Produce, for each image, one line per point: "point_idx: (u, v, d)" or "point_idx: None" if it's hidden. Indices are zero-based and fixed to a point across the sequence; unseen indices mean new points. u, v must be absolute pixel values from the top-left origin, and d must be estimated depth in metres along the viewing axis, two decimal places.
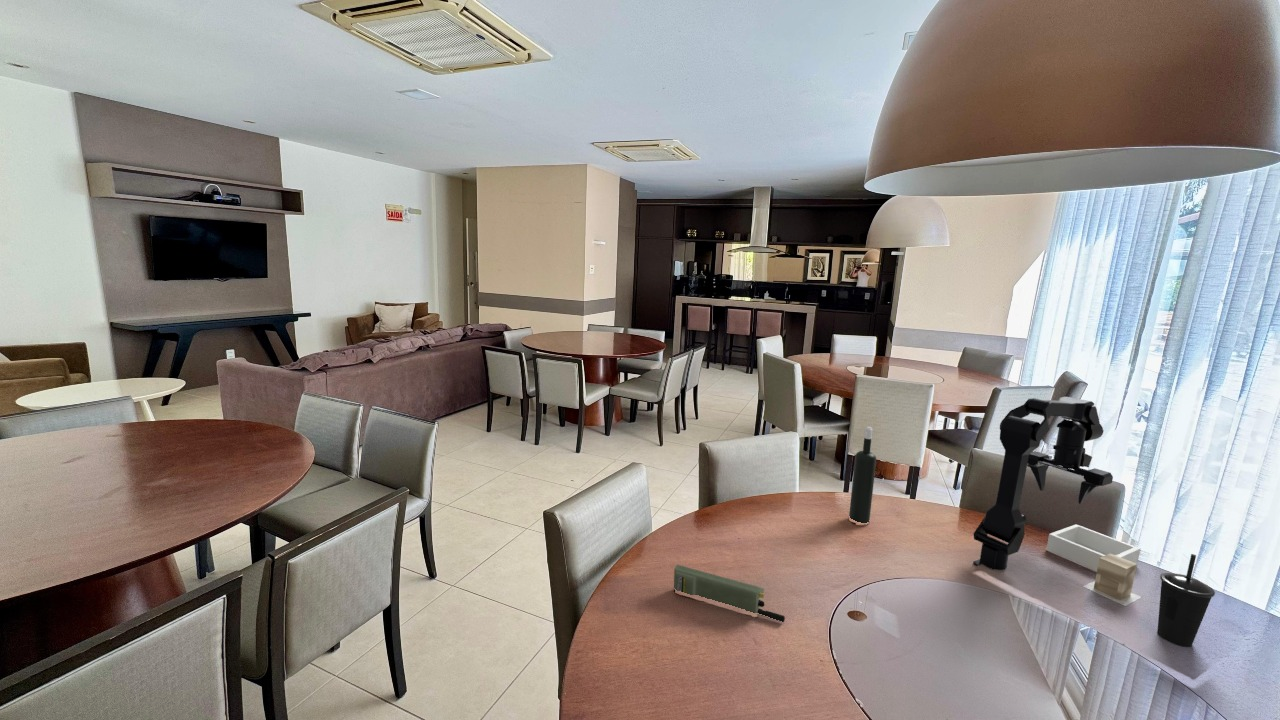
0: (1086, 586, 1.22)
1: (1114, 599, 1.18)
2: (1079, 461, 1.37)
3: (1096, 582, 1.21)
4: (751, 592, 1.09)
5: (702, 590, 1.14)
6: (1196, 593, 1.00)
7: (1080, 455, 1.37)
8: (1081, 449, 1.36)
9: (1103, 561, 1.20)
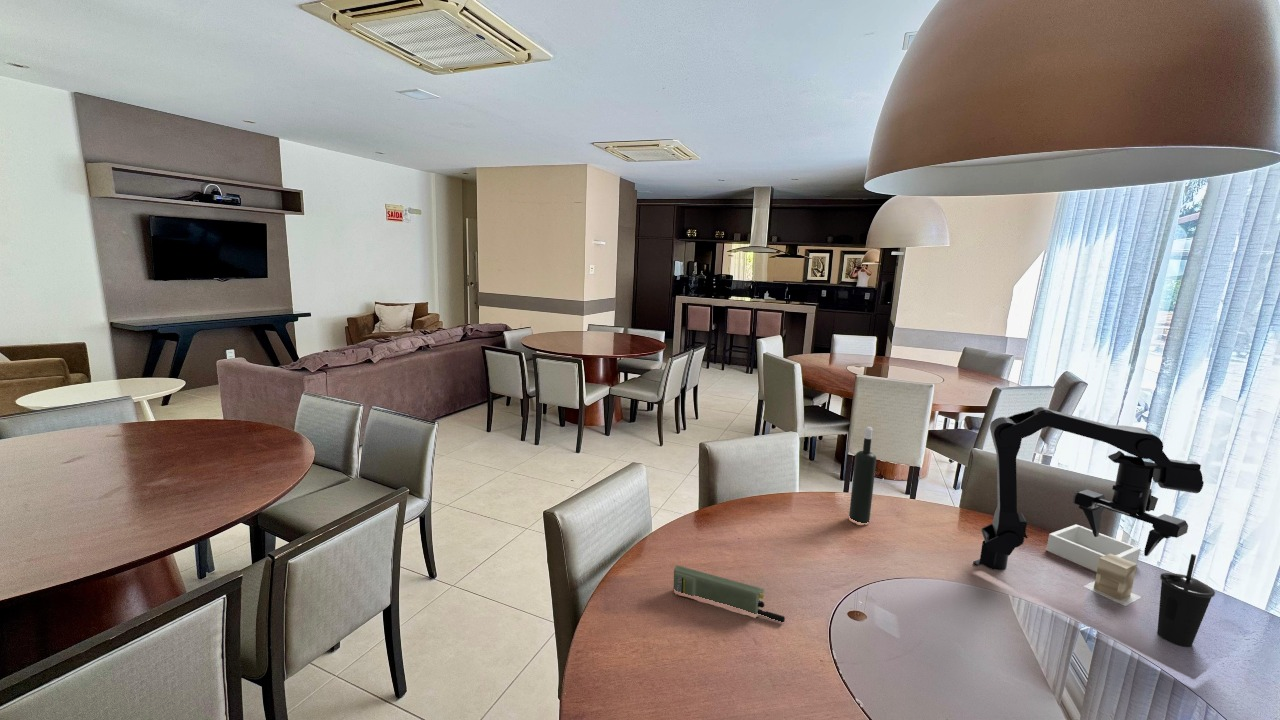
0: (1086, 586, 1.22)
1: (1114, 599, 1.18)
2: (1145, 505, 1.14)
3: (1096, 582, 1.21)
4: (751, 593, 1.09)
5: (702, 591, 1.14)
6: (1196, 593, 1.00)
7: (1146, 498, 1.14)
8: (1148, 491, 1.14)
9: (1103, 561, 1.20)
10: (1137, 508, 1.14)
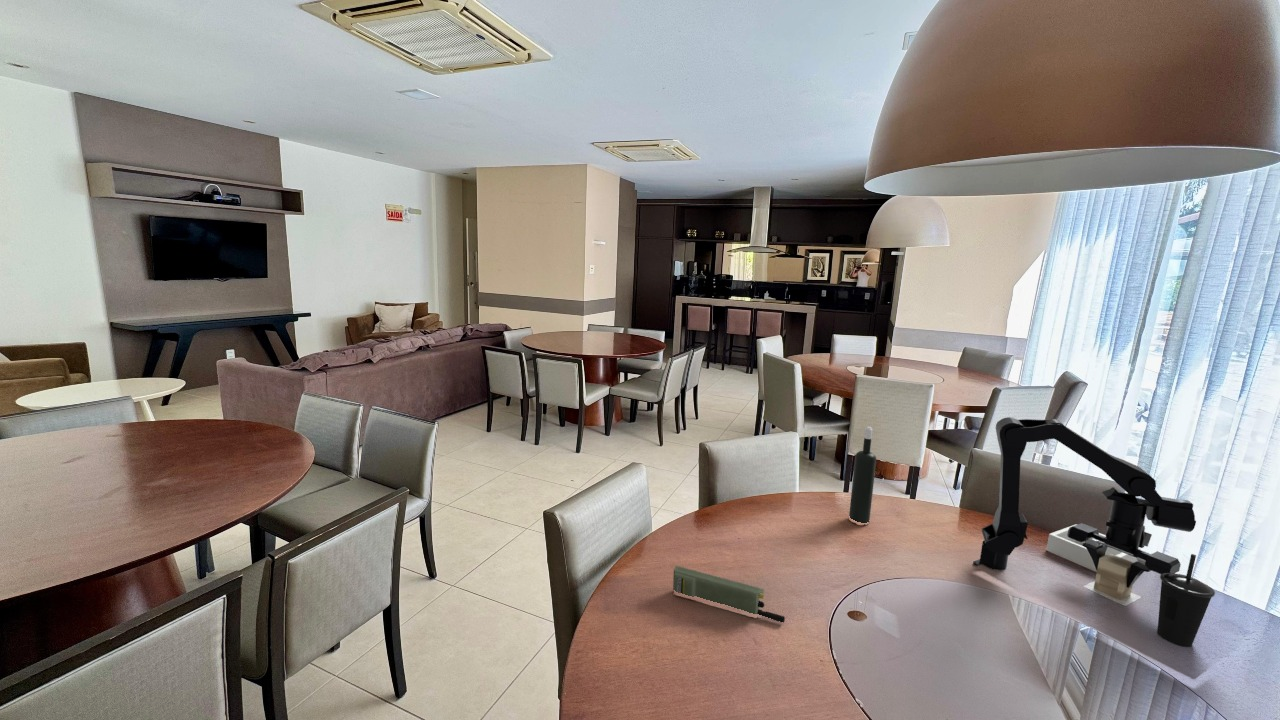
0: (1086, 586, 1.22)
1: (1114, 599, 1.18)
2: (1138, 542, 1.16)
3: (1096, 582, 1.21)
4: (751, 593, 1.08)
5: (701, 592, 1.13)
6: (1196, 593, 1.00)
7: (1139, 535, 1.15)
8: (1141, 528, 1.15)
9: (1103, 561, 1.20)
10: (1130, 545, 1.16)
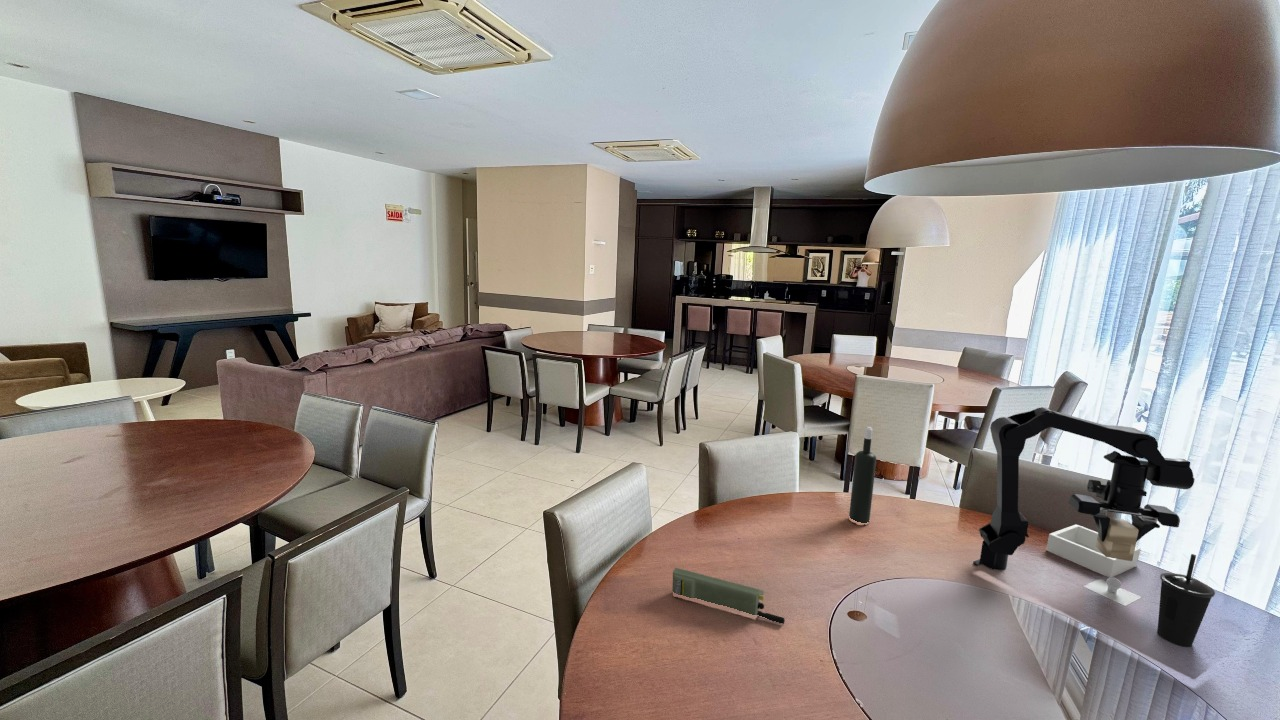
0: (1086, 586, 1.22)
1: (1114, 599, 1.18)
2: None
3: (1108, 550, 1.21)
4: (750, 595, 1.08)
5: (701, 593, 1.13)
6: (1196, 593, 1.00)
7: None
8: None
9: (1115, 528, 1.19)
10: None
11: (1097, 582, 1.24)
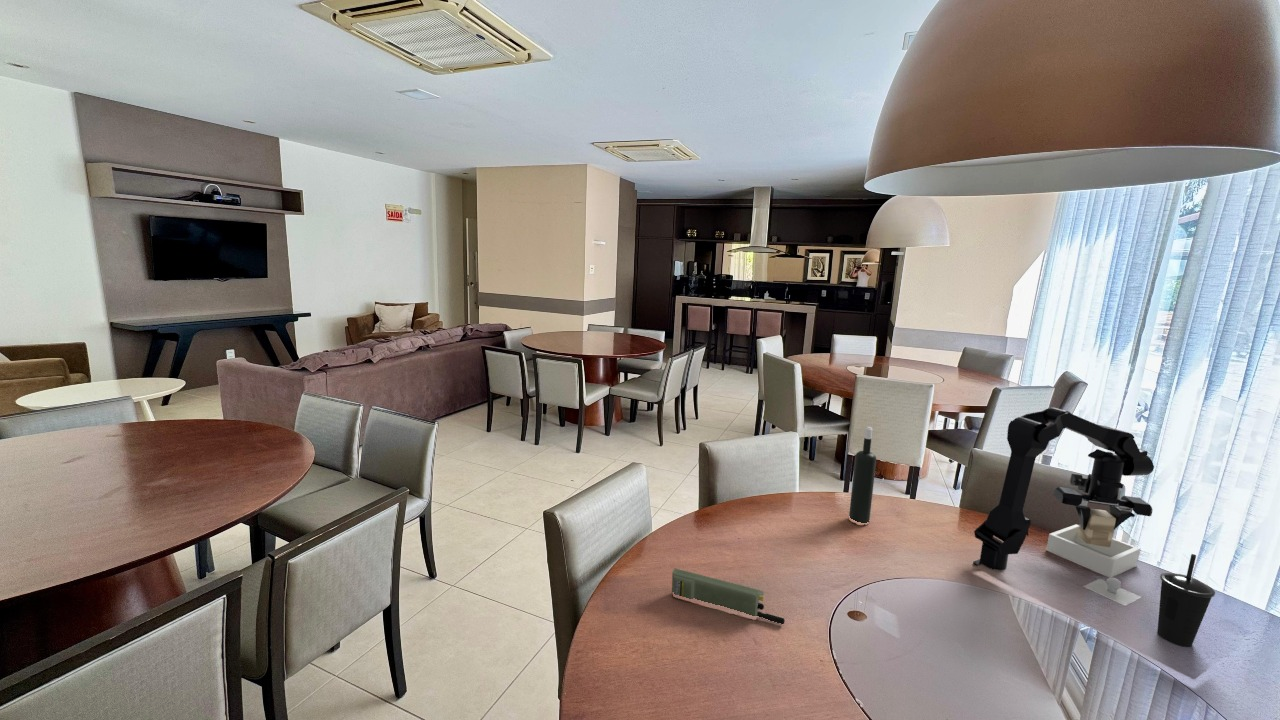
0: (1086, 586, 1.22)
1: (1114, 599, 1.18)
2: None
3: (1089, 537, 1.33)
4: (750, 595, 1.08)
5: (701, 594, 1.13)
6: (1196, 593, 1.00)
7: None
8: None
9: (1095, 517, 1.32)
10: (1117, 497, 1.30)
11: (1097, 582, 1.24)
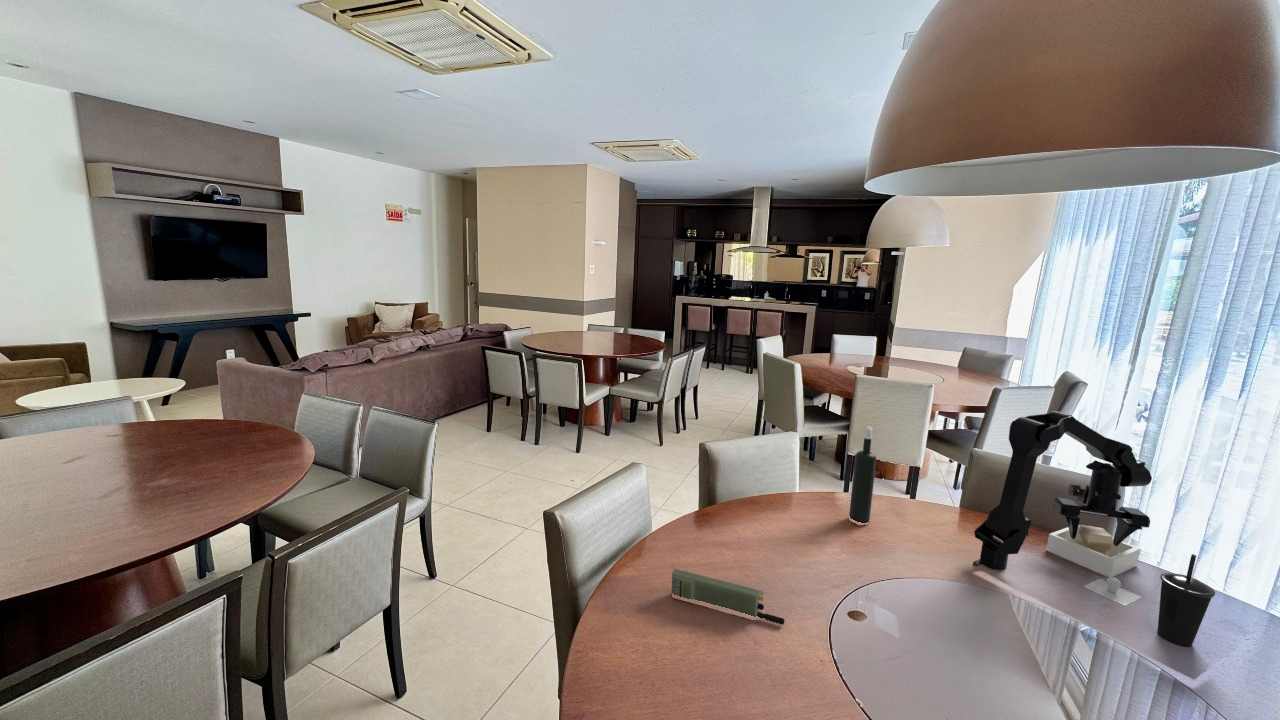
0: (1086, 586, 1.22)
1: (1114, 599, 1.18)
2: None
3: None
4: (750, 596, 1.08)
5: (700, 594, 1.12)
6: (1196, 593, 1.00)
7: None
8: None
9: (1092, 535, 1.32)
10: (1115, 508, 1.31)
11: (1097, 582, 1.24)
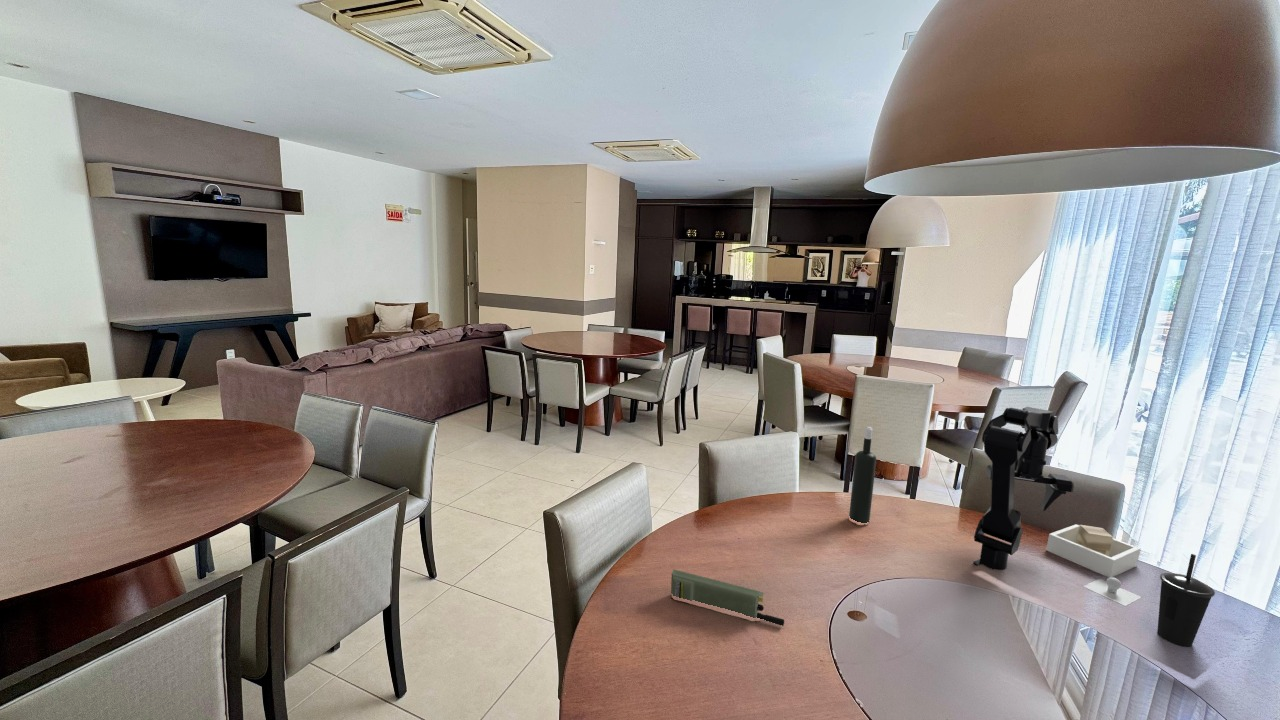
0: (1086, 586, 1.22)
1: (1114, 599, 1.18)
2: None
3: None
4: (750, 597, 1.07)
5: (700, 595, 1.12)
6: (1196, 593, 1.00)
7: None
8: None
9: (1092, 535, 1.32)
10: (1041, 474, 1.37)
11: (1097, 582, 1.24)
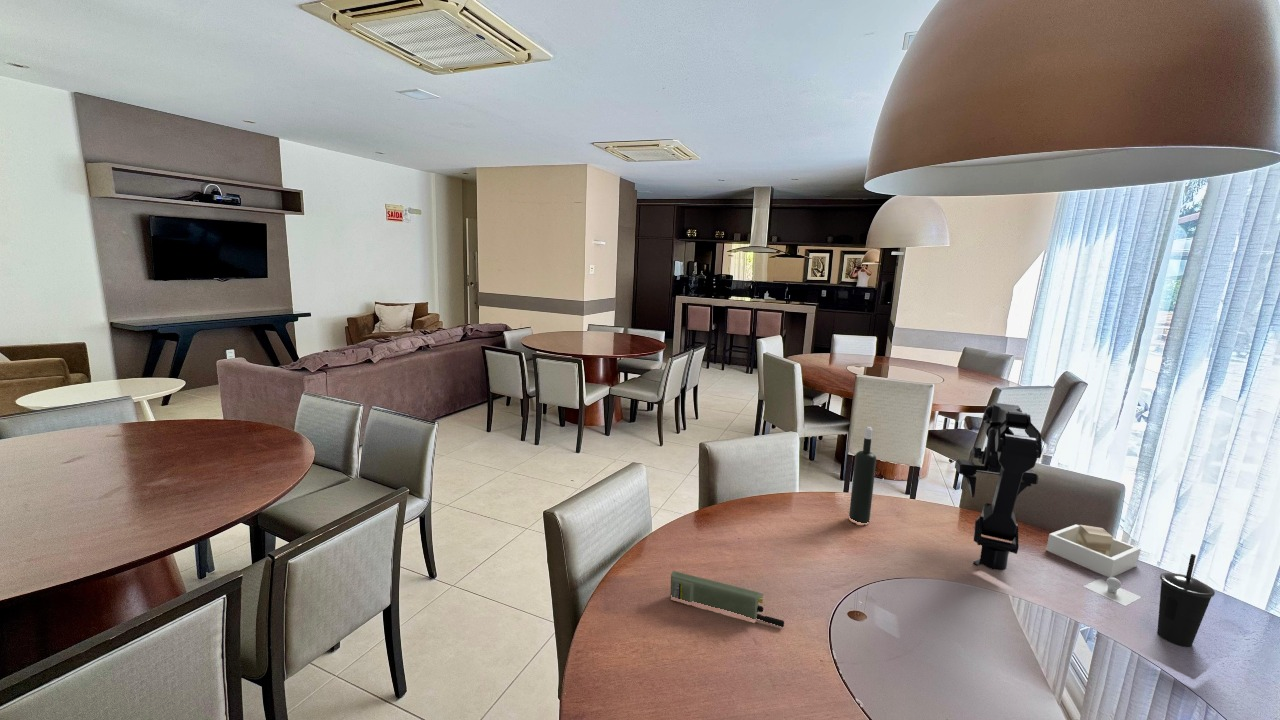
0: (1086, 586, 1.22)
1: (1114, 599, 1.18)
2: None
3: None
4: (750, 598, 1.07)
5: (700, 597, 1.12)
6: (1196, 593, 1.00)
7: None
8: None
9: (1092, 535, 1.32)
10: None
11: (1097, 582, 1.24)
